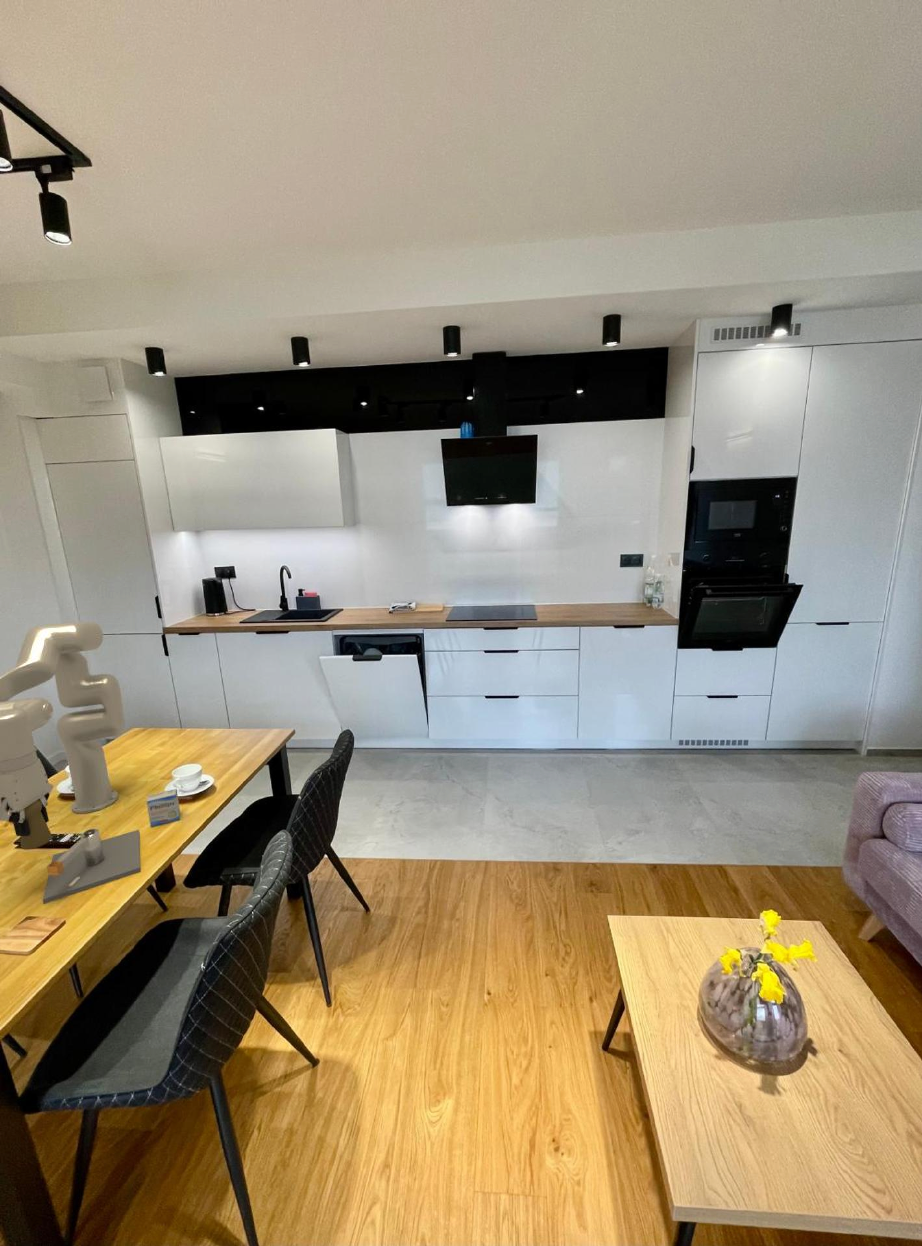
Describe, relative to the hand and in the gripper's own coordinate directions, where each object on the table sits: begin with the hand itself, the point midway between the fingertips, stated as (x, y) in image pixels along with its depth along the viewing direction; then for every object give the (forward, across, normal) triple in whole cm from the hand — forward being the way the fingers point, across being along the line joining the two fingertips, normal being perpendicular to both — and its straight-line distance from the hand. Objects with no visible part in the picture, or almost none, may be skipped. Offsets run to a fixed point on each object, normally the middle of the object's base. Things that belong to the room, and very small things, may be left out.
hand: (32, 827), depth 126 cm
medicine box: (+17, -29, +13) cm, 36 cm away
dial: (+15, -3, +7) cm, 17 cm away
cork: (+4, 0, 0) cm, 4 cm away
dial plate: (+17, -8, +7) cm, 20 cm away
